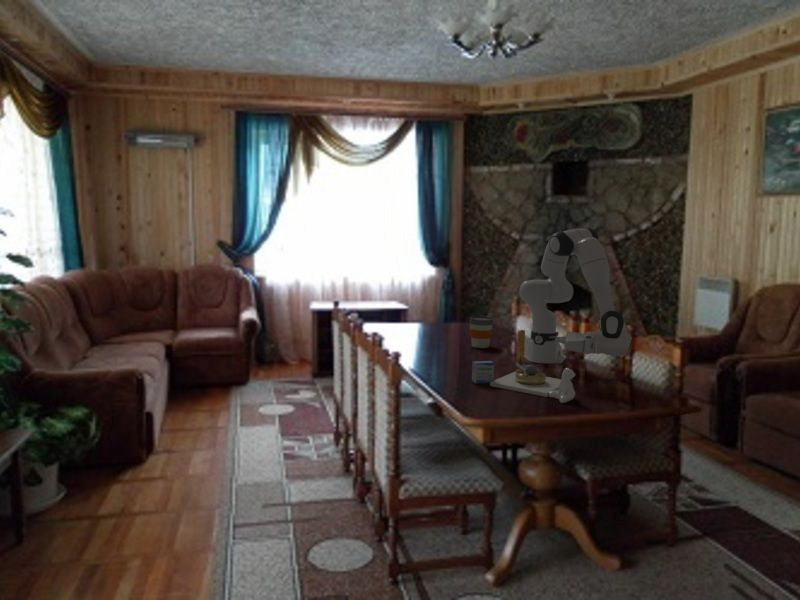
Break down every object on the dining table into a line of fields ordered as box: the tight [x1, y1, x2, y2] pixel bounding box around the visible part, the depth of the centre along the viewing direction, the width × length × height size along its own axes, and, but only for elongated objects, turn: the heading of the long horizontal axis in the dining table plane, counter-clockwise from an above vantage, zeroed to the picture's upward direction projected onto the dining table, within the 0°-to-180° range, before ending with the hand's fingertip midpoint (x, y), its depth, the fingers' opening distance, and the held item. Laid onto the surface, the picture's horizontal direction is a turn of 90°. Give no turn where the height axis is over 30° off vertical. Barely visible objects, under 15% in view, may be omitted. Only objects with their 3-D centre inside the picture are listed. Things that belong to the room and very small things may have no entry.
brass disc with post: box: [515, 329, 547, 385], centre depth 252 cm, size 22×12×18 cm, turn 7°
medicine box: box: [471, 360, 495, 385], centre depth 250 cm, size 8×4×9 cm, turn 105°
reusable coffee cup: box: [469, 316, 494, 349], centre depth 323 cm, size 13×13×15 cm
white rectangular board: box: [489, 364, 562, 398], centre depth 248 cm, size 24×24×8 cm
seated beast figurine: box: [548, 367, 577, 404], centre depth 229 cm, size 10×9×12 cm
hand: (555, 339), depth 257 cm, fingers closed
